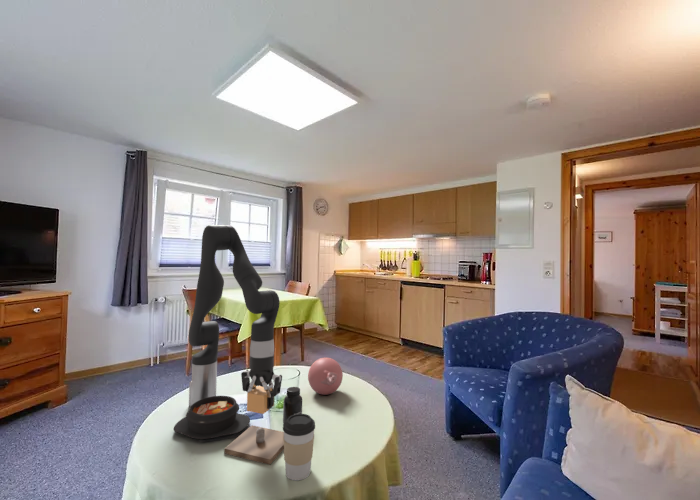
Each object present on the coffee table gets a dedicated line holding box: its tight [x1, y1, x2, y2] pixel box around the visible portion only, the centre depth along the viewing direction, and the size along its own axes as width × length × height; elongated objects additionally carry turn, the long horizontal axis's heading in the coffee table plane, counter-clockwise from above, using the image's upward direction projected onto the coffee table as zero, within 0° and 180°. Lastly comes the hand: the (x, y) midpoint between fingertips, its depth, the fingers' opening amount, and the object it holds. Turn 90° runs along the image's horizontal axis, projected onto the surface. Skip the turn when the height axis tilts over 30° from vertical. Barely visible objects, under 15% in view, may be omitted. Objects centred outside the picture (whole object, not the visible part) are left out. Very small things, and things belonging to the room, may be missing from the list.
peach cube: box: [246, 386, 275, 415], centre depth 100 cm, size 6×6×6 cm
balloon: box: [307, 357, 344, 396], centre depth 137 cm, size 15×20×15 cm
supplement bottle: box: [282, 386, 303, 423], centre depth 114 cm, size 7×7×12 cm
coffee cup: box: [282, 413, 316, 481], centre depth 88 cm, size 9×9×15 cm
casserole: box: [173, 395, 251, 440], centre depth 109 cm, size 25×19×8 cm
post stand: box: [223, 424, 284, 466], centre depth 100 cm, size 16×14×6 cm
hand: (260, 406), depth 100 cm, fingers closed on peach cube, 6 cm apart
